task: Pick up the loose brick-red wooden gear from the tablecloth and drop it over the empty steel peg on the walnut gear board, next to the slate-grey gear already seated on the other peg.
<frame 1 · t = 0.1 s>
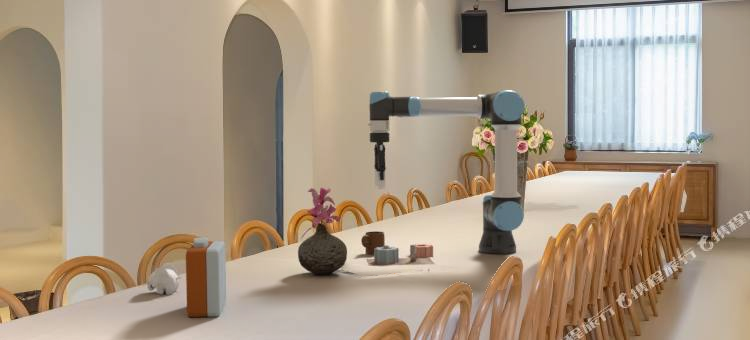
hand: (380, 187, 304), 28 cm above the table, fingers open, 13 cm apart
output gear: (386, 261, 293), point 1 cm above the table, touching gear board
gear board: (399, 264, 294), on the table
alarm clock: (207, 311, 223), on the table
mug: (371, 257, 312), on the table
vase: (322, 275, 275), on the table
elephant figurine: (163, 293, 248), on the table
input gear: (421, 258, 307), on the table
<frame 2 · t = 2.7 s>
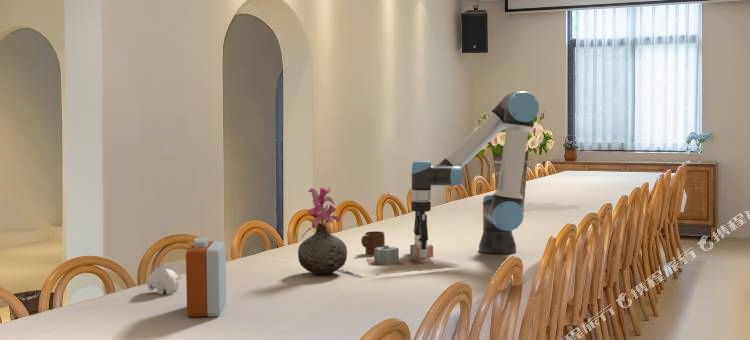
hand: (420, 255, 308), 1 cm above the table, fingers open, 13 cm apart
nothing on the table moved.
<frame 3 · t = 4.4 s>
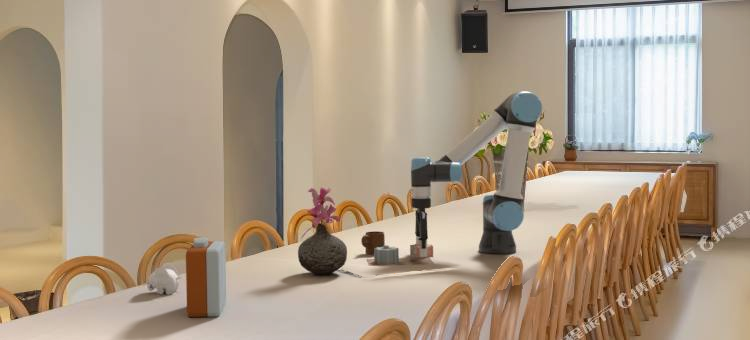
hand: (421, 255, 307), 1 cm above the table, fingers open, 10 cm apart
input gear: (421, 258, 307), on the table, touching gripper
everything else where it was.
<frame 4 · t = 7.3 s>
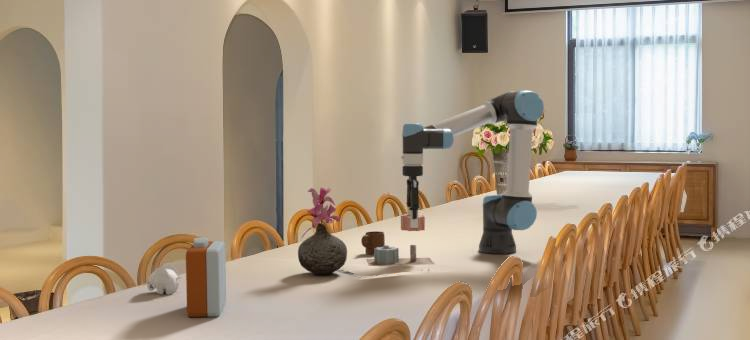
hand: (412, 226, 293), 14 cm above the table, fingers closed on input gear, 9 cm apart
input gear: (412, 229, 293), point 13 cm above the table, touching gripper
everything else where it was.
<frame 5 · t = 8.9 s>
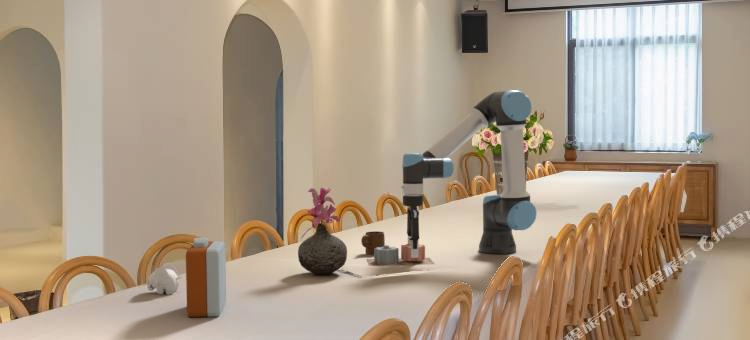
hand: (412, 255, 294), 3 cm above the table, fingers closed on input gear, 9 cm apart
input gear: (413, 259, 294), point 2 cm above the table, touching gripper
everything else where it was.
when the fingers open (3 cm above the table, at t = 9.9 s): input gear stays where it is, resting on gear board.
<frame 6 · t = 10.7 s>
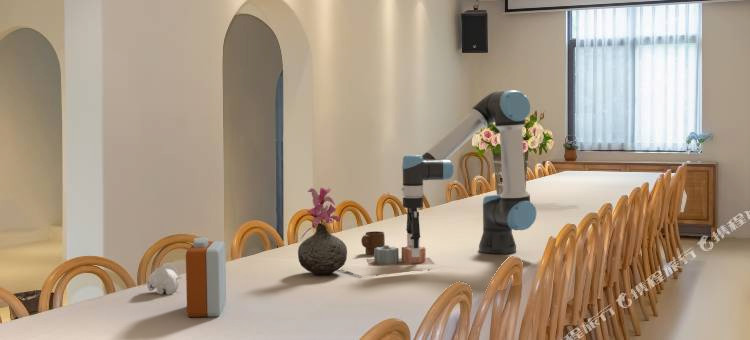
hand: (413, 253, 294), 4 cm above the table, fingers open, 13 cm apart
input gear: (413, 261, 294), point 1 cm above the table, touching gear board
everything else where it was.
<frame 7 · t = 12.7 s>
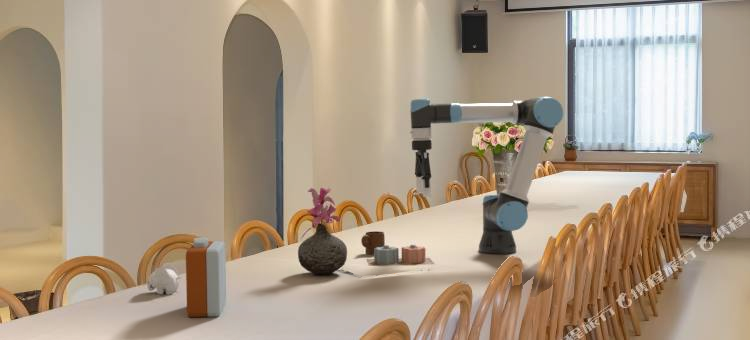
hand: (423, 195, 303), 25 cm above the table, fingers open, 13 cm apart
nothing on the table moved.
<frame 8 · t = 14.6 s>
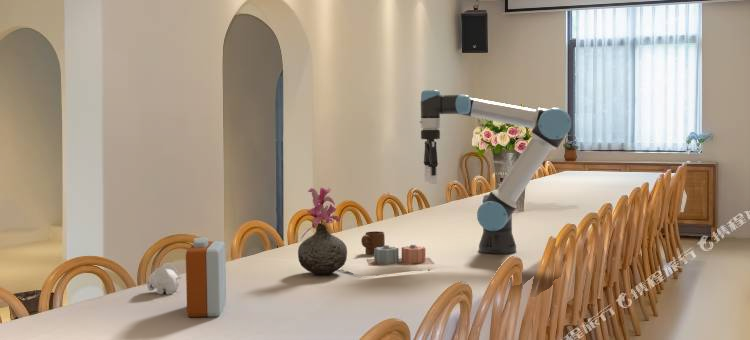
hand: (430, 182, 315), 29 cm above the table, fingers open, 13 cm apart
nothing on the table moved.
at the end: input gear 0.1 cm from the target spot, point 1.2 cm above the table; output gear 0.0 cm from the target spot, point 1.2 cm above the table; the gripper is holding nothing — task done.
